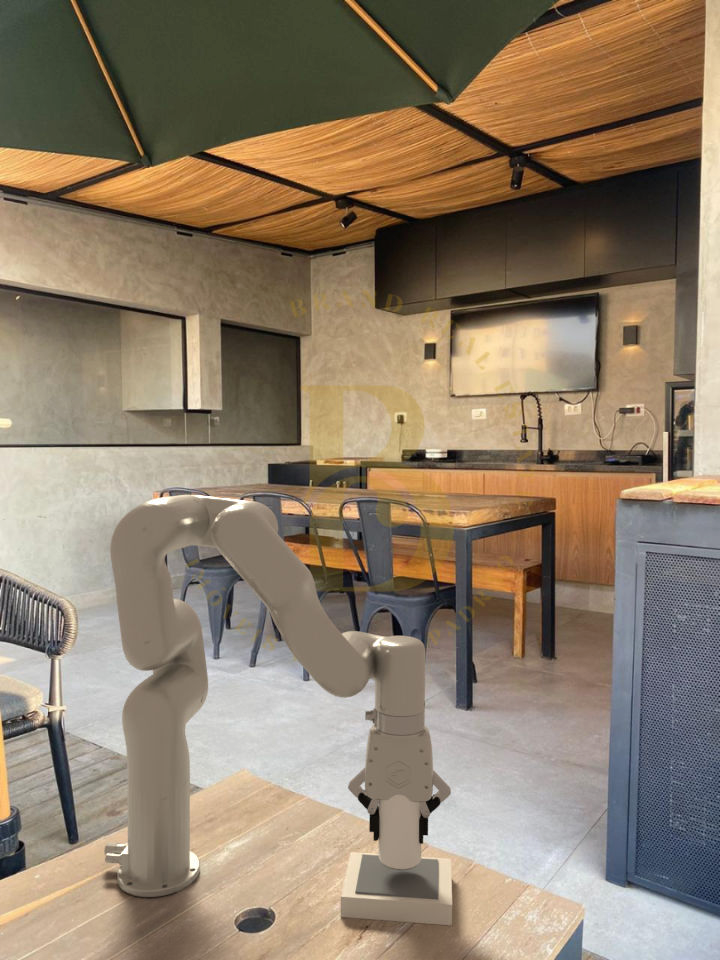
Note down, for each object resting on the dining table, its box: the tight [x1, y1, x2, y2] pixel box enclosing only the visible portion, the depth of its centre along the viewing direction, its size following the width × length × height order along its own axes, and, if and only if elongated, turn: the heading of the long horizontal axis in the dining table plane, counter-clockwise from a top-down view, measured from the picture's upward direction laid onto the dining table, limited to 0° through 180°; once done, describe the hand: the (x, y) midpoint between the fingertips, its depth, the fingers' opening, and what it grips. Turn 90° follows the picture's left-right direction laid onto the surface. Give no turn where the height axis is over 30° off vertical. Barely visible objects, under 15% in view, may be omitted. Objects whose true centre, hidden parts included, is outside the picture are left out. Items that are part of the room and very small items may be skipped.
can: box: [378, 795, 422, 870], centre depth 111 cm, size 6×6×12 cm
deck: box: [340, 851, 453, 926], centre depth 111 cm, size 16×12×3 cm
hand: (398, 836), depth 111 cm, fingers closed on can, 6 cm apart
